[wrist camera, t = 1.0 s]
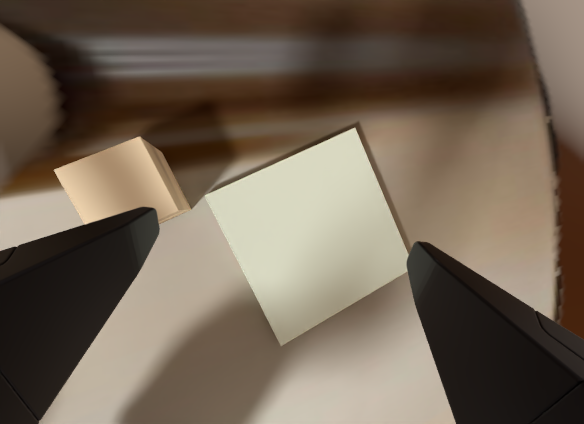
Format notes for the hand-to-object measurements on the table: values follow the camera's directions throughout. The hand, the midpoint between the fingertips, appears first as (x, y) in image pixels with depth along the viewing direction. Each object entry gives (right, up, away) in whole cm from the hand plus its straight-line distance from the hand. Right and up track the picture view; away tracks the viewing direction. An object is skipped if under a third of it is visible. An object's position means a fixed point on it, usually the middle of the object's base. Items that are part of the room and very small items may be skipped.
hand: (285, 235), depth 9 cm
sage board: (+2, -1, +14) cm, 15 cm away
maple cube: (-11, +2, +11) cm, 16 cm away
